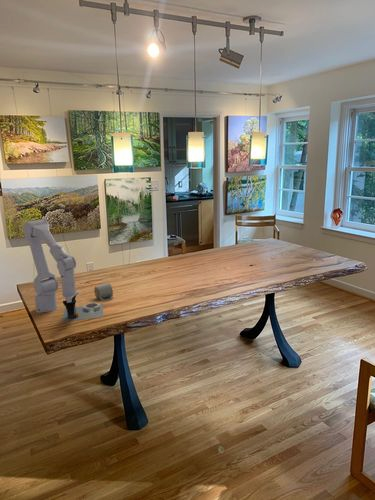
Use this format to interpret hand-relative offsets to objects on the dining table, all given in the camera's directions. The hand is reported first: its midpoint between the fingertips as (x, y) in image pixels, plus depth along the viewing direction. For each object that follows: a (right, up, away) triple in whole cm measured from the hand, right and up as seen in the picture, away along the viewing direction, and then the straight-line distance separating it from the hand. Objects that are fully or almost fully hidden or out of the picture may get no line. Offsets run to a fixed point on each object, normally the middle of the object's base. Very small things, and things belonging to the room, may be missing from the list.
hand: (71, 312), depth 172 cm
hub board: (+4, -2, +6) cm, 7 cm away
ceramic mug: (+10, +3, +25) cm, 27 cm away
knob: (0, -2, +1) cm, 3 cm away
